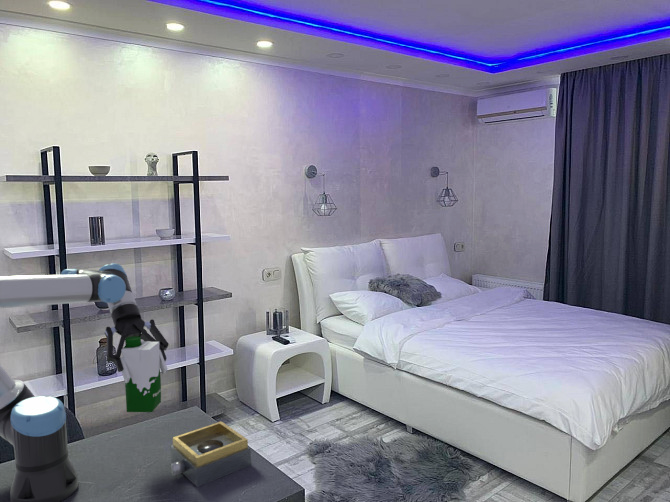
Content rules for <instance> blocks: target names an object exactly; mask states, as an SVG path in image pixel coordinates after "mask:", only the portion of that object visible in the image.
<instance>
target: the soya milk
mask: <svg viewBox="0 0 670 502" xmlns="http://www.w3.org/2000/svg"><path fill="white" fill-rule="evenodd" d="M121 351H122V352H121V357H123V359H124V361H125V363H126V366H127V369H128V372H129V375H130V380H129V382H128V383H125V382H124V385H125V387H124V388H125V389H124V390H125V404H126V405H125V407H126V409H125V410H126V413H153V412H154V410H155V409H156V408H157V407H158V406H159V405H160V403H162V383H161V382H162V380H161V369H160V357H159V342H151V341H144V340H142V339H141V337H139V336H132V337H127V338H126V339H125V342H124V346H123V349H122V350H121Z"/></svg>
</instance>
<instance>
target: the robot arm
mask: <svg viewBox="0 0 670 502" xmlns="http://www.w3.org/2000/svg"><path fill="white" fill-rule="evenodd" d="M96 302H97V303H98V302H103V303H106V304H107V307H108V310H109V312H110V314H111V319H112V322H113V325H114V326H113V327H110V326H107V327H105V330H104V335H105V338H106V362H108V363H109V362H113V364H114V365H115V367H116V370H117V371H118V373H122V376H123V380H124V384H125V383H128V382H129V380H130V375H129V372H128V369H127V366H126V363H125V361H124V359H123V356H122V351H121V350H122V349H123V348H124V347H125V339H126V338H127V337H132V336H139V337H141V341H151V342H159V357H160V373H161V374H162V375H166V372H167V370H168V367H167V364H166V361H167V356H166V353H165V351H167V349H168V347H169V345H170V344H169V342H168V341H167V339H166V338H165V337H164V335H163V334H162V332H161V331H160V330H159V329H158V327H157V325H156V322H155V320H154V319H150V320H149V321H144V320H143V319H142V315H141V313H140V310H139V307H138V305H137V301H136V299H135V296H134V293H133V290H132V289H131V284H130V282H129V277H128V275H127V273H126V271H125V268H123V266H122V265H120V264H119V263H115V262H113V263H112V262H111V263H110V264H104V265H103V266H101V267H100V268H99V270H93V269H80V268H66V269H63V270H62V271H61V272H60V274H48V275H47V274H46V275H45V274H43V275H42V274H41V275H38V274H37V275H35V274H34V275H10V276H8V275H6V276H5V275H4V276H0V309H10V308H25V307H37V306H39V307H40V306H51V305H52V306H53V305H64V304H67V305H68V304H75V303H76V304H77V303H78V304H79V303H96ZM145 328H147V330H149V332H148V331H147V330H146V329H145ZM115 333H116V334H118V335H119V336H120V338H119V343H118V346H117V349H116V352H115V354H114V335H115ZM149 333H150V334H149ZM28 387H29V386H27V385H26V384H25V382H24V381H23V380H20V379H13V378H12V377H11V376H10V374H9V373H8V372H7V371H6V370H5V368H4V367H3V366H2V364H0V437H1V438H2V439H4V440H5V441H7V442H8V443H9V444H11V446H13V451H14V461H15V462H14V463H15V473H14V477H13V479H12V480H13V481H12V482H11V483H12V484H11V486H10V490H9V498H10V502H62V501H64V500H66V499H67V498H68V497H70V496H72V495H73V494H74V493H75V491H76V490H77V489H78V487H79V476H78V473H77V471H76V469H75V466H74V465H73V463H72V461H71V459H70V456H69V447H68V432H67V431H68V430H67V421H66V420H67V413H66V410H65V405H64V403H63V402H62V401H61V400H60V399H59V398H57V397H54V396H45V395H39V396H35V395H34V394H33V392H32V391H31V390H30V389H29V388H28Z"/></svg>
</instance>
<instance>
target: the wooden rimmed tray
mask: <svg viewBox="0 0 670 502" xmlns="http://www.w3.org/2000/svg"><path fill="white" fill-rule="evenodd" d="M248 444H249V439H248V438H246V437H245V436H244V435H243V434H241V433H240V432H238V431H236V430H234V429H233V428H232V427H230V426H229V425H227V424H226V423H225V422H223V421H218V422H216V423H212V424H210V425H207V426H204V427H203V426H202V427H200V428H197V429H195V430H191V431H188V432H185V433H182V434H179V435H176V436H173V437H172V445H171V446H170V456H171V457H170V458H171V464H170V465H169V469H170V470H169V471H170V473H171V475H172V476H173V477H174V476H177V475H178V474H181V473H182V474H183V475H184V476H185V477H186V478H187V479H188V480H189V481H190V482H191V483H192V484H193V485H194V486H195V487H196V488H199V487H201V486H204V485H206V484H208V483H211V482H213V481H216V480H218V479H220V478H223V477H226V476H229V475H230V474H233V473H235V472H238V471H241V470H243V469H245V468H248V467H250V466H251V465H252V457H251V456H252V454H251V453H252V452H251V447H250V446H249V445H248Z"/></svg>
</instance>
